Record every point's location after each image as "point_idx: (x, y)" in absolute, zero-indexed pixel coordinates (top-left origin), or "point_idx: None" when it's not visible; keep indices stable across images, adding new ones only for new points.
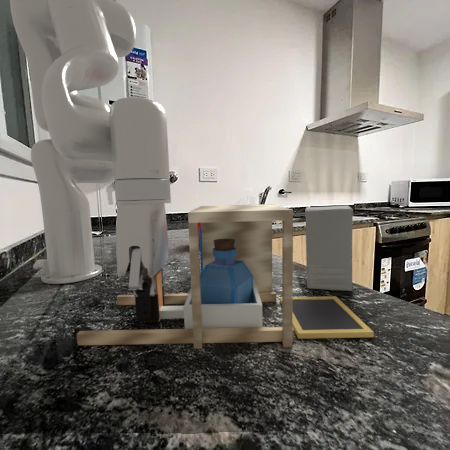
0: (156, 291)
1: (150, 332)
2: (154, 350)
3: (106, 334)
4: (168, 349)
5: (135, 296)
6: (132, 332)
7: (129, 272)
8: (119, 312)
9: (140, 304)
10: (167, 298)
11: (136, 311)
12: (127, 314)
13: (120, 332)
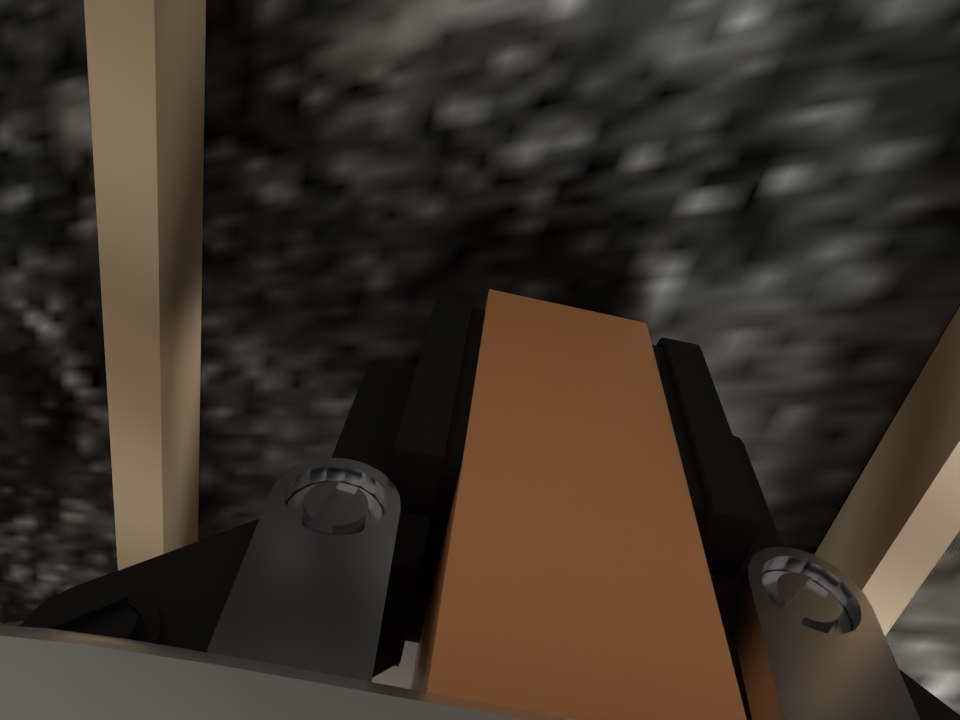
0: (412, 677)
1: (113, 440)
2: (80, 408)
3: (89, 60)
4: (94, 482)
5: (296, 478)
6: (110, 309)
7: (453, 699)
8: (887, 14)
9: (337, 450)
10: (865, 544)
11: (427, 340)
12: (776, 129)
13: (111, 203)
